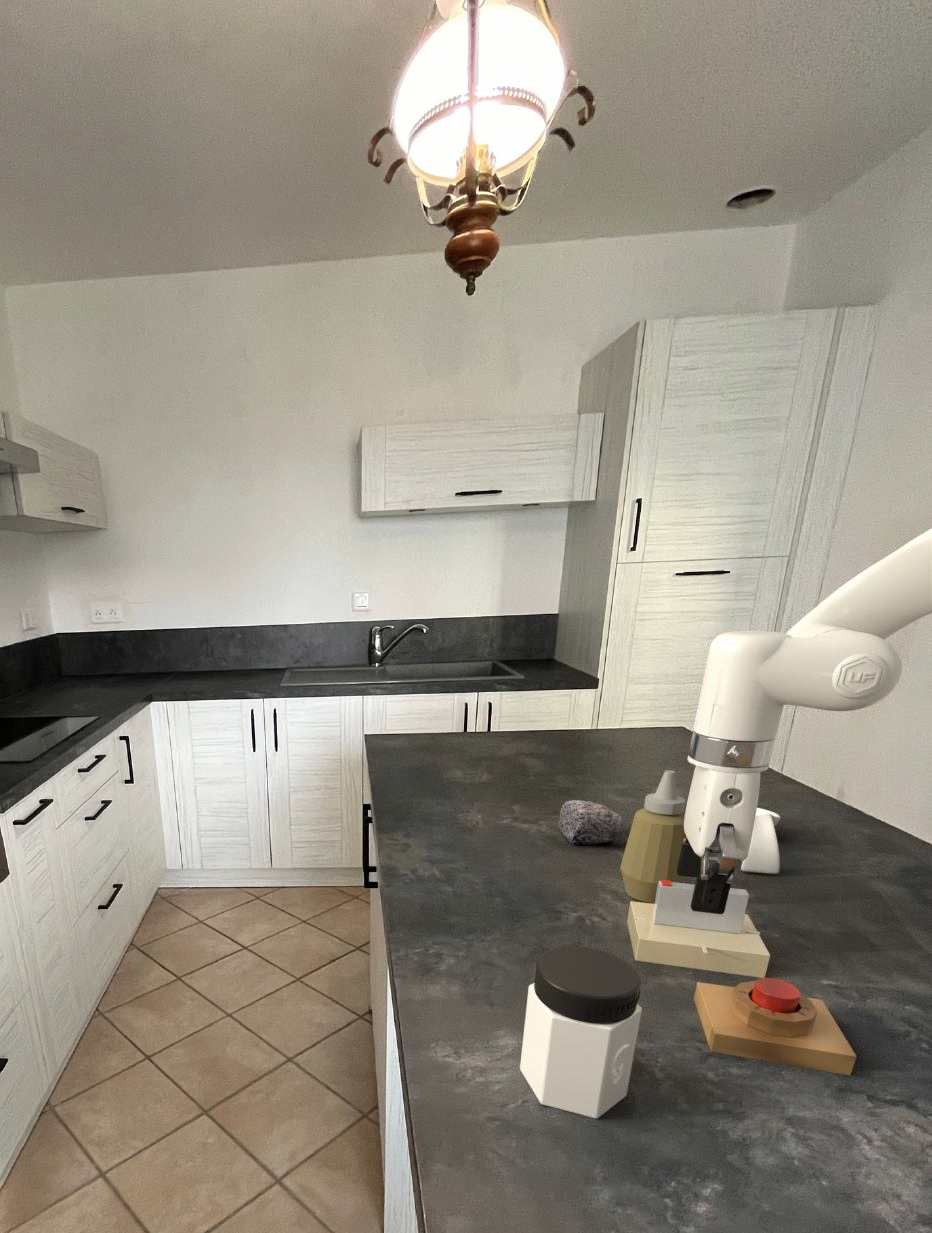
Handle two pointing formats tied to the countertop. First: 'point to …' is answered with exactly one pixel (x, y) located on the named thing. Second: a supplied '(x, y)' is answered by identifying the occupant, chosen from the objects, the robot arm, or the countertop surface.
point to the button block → (772, 1030)
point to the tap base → (696, 945)
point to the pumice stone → (589, 823)
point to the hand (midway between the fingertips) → (698, 892)
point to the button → (776, 995)
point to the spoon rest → (763, 845)
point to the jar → (581, 1029)
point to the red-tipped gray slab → (677, 911)
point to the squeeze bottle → (655, 842)
